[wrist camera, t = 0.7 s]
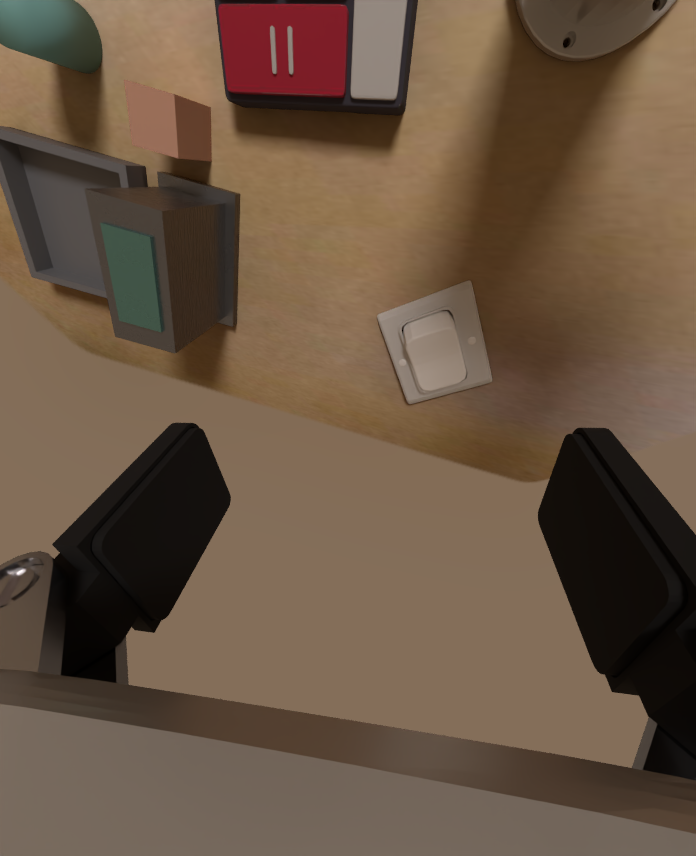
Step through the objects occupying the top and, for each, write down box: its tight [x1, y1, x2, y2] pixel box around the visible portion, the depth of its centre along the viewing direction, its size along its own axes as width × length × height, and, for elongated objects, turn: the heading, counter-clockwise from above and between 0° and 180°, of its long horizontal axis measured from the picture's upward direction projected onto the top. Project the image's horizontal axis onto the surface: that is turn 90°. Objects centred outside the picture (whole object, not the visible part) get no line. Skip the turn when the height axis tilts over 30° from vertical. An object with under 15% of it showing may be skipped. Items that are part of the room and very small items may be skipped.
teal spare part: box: [0, 0, 102, 73], centre depth 27 cm, size 4×4×7 cm
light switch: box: [377, 280, 492, 404], centre depth 40 cm, size 11×4×13 cm
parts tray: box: [0, 126, 148, 298], centre depth 37 cm, size 14×14×3 cm
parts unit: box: [84, 172, 240, 353], centre depth 34 cm, size 14×8×12 cm, turn 167°
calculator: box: [215, 0, 418, 115], centre depth 25 cm, size 11×4×15 cm
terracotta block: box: [124, 80, 212, 161], centre depth 30 cm, size 4×4×6 cm
